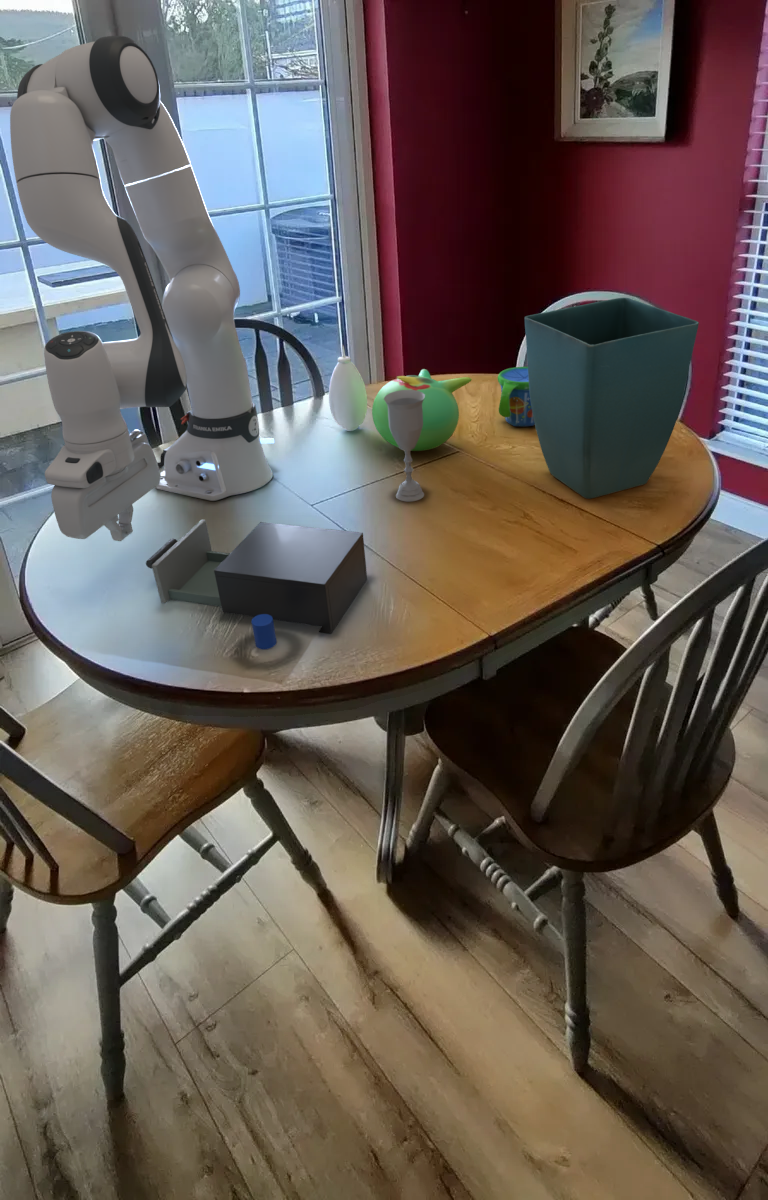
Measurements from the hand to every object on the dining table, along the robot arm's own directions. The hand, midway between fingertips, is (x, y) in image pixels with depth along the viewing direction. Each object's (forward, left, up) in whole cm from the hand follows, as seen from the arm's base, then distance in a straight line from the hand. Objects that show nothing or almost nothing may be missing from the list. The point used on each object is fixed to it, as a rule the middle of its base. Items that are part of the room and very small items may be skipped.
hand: (123, 536), depth 126 cm
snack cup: (+47, +74, -7) cm, 88 cm away
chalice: (+34, +36, -7) cm, 50 cm away
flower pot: (+65, +48, -7) cm, 81 cm away
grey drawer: (+16, 0, -7) cm, 17 cm away
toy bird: (+29, +58, -7) cm, 65 cm away
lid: (+29, -12, -7) cm, 33 cm away
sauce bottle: (+12, +64, -7) cm, 66 cm away
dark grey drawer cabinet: (+28, 0, -7) cm, 29 cm away
